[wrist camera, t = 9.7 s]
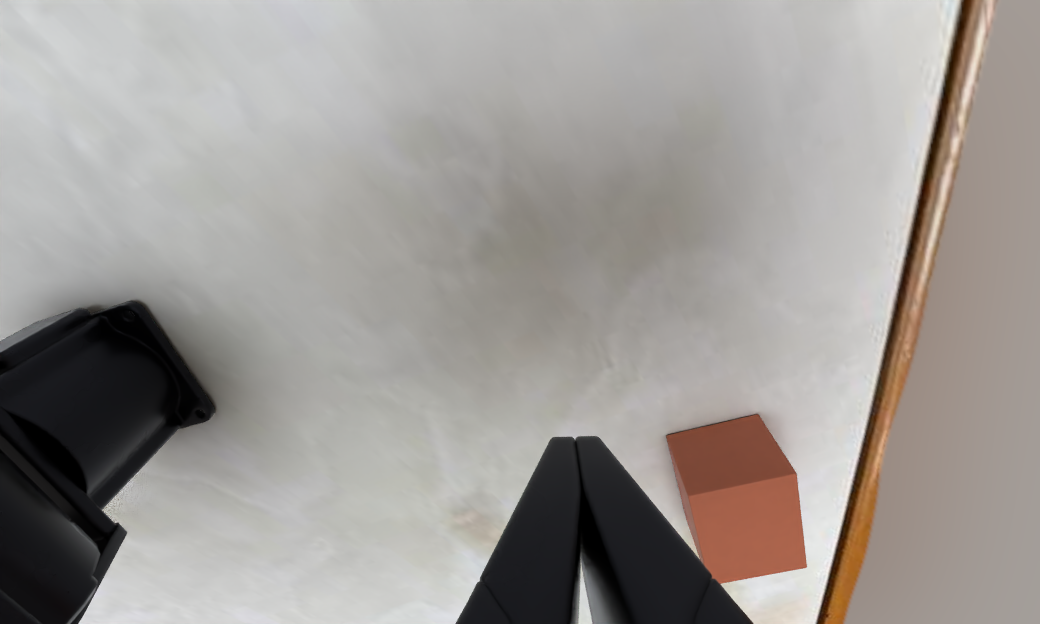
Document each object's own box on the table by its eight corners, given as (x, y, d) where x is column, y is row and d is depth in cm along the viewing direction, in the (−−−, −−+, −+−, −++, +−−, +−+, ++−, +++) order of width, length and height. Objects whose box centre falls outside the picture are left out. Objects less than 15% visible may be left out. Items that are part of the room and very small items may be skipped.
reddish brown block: (771, 501, 27) (807, 568, 24) (686, 518, 28) (709, 586, 24) (758, 413, 25) (796, 473, 21) (665, 435, 26) (687, 496, 22)
